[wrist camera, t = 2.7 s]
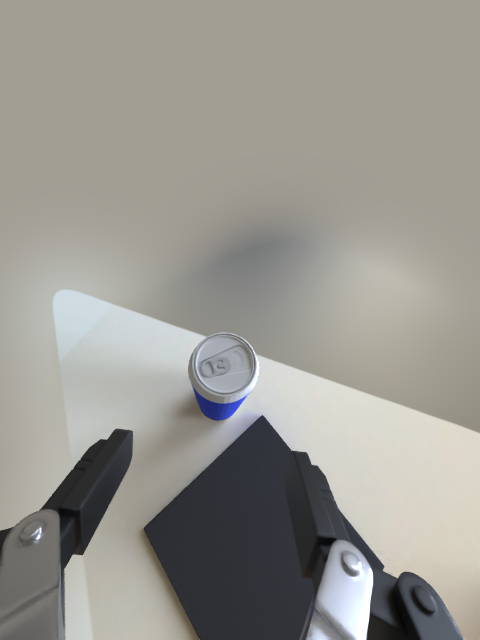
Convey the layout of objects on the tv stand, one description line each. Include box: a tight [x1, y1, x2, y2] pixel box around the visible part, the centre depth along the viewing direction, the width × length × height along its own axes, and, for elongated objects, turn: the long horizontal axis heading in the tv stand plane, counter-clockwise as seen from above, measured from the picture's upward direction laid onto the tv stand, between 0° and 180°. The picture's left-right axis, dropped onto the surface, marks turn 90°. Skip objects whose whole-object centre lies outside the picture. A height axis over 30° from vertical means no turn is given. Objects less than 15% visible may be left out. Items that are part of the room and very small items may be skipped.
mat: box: [144, 415, 384, 640], centre depth 22 cm, size 16×18×1 cm
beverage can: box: [188, 332, 259, 420], centre depth 22 cm, size 5×5×15 cm
